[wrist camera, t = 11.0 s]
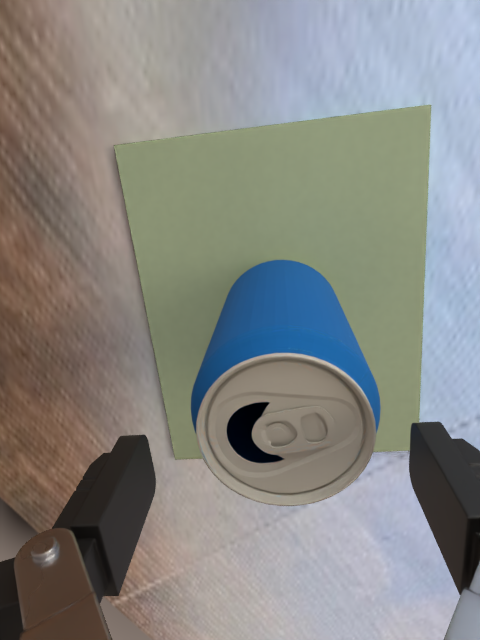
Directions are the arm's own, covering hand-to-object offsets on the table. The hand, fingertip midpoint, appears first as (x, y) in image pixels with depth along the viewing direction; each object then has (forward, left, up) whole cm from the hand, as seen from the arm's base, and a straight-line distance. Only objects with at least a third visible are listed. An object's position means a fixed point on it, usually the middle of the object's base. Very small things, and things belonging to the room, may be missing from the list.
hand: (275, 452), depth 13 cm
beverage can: (0, 0, -13) cm, 13 cm away
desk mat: (0, 0, -13) cm, 13 cm away
